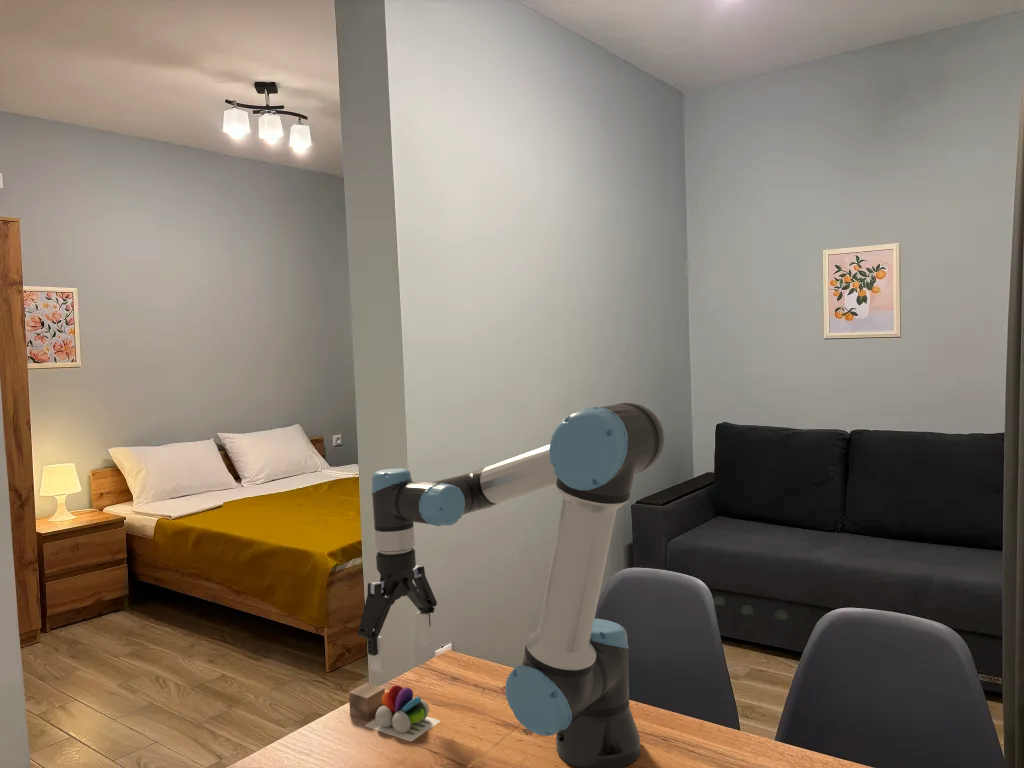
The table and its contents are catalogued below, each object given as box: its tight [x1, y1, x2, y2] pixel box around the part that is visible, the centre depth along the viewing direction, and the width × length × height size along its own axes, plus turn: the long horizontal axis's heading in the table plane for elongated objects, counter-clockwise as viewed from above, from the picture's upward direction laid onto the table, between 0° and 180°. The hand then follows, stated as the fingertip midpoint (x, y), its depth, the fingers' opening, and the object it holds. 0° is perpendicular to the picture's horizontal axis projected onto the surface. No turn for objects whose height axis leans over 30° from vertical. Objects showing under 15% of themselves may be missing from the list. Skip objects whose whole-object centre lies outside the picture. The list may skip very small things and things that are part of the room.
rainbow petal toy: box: [375, 684, 430, 733], centre depth 147 cm, size 8×10×7 cm
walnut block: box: [348, 682, 386, 722], centre depth 152 cm, size 5×5×5 cm
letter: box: [364, 716, 441, 742], centre depth 148 cm, size 12×9×1 cm
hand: (401, 657), depth 147 cm, fingers open, 13 cm apart
